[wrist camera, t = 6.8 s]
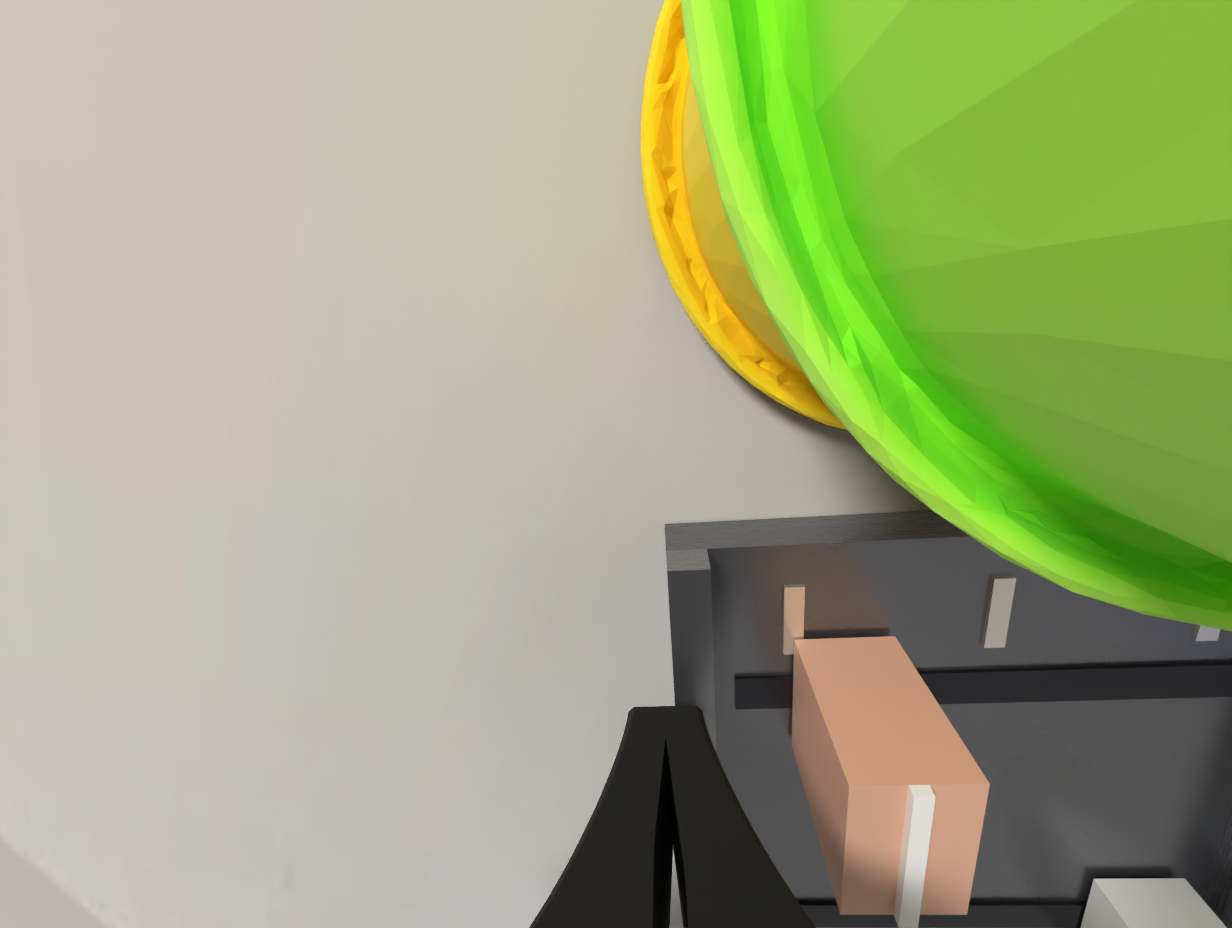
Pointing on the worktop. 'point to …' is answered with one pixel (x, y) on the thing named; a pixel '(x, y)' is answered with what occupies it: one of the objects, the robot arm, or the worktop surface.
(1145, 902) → the fader white
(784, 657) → the fader board
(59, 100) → the worktop surface
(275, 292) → the worktop surface
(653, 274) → the worktop surface
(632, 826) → the robot arm
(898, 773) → the fader terracotta
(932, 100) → the stacking cups
